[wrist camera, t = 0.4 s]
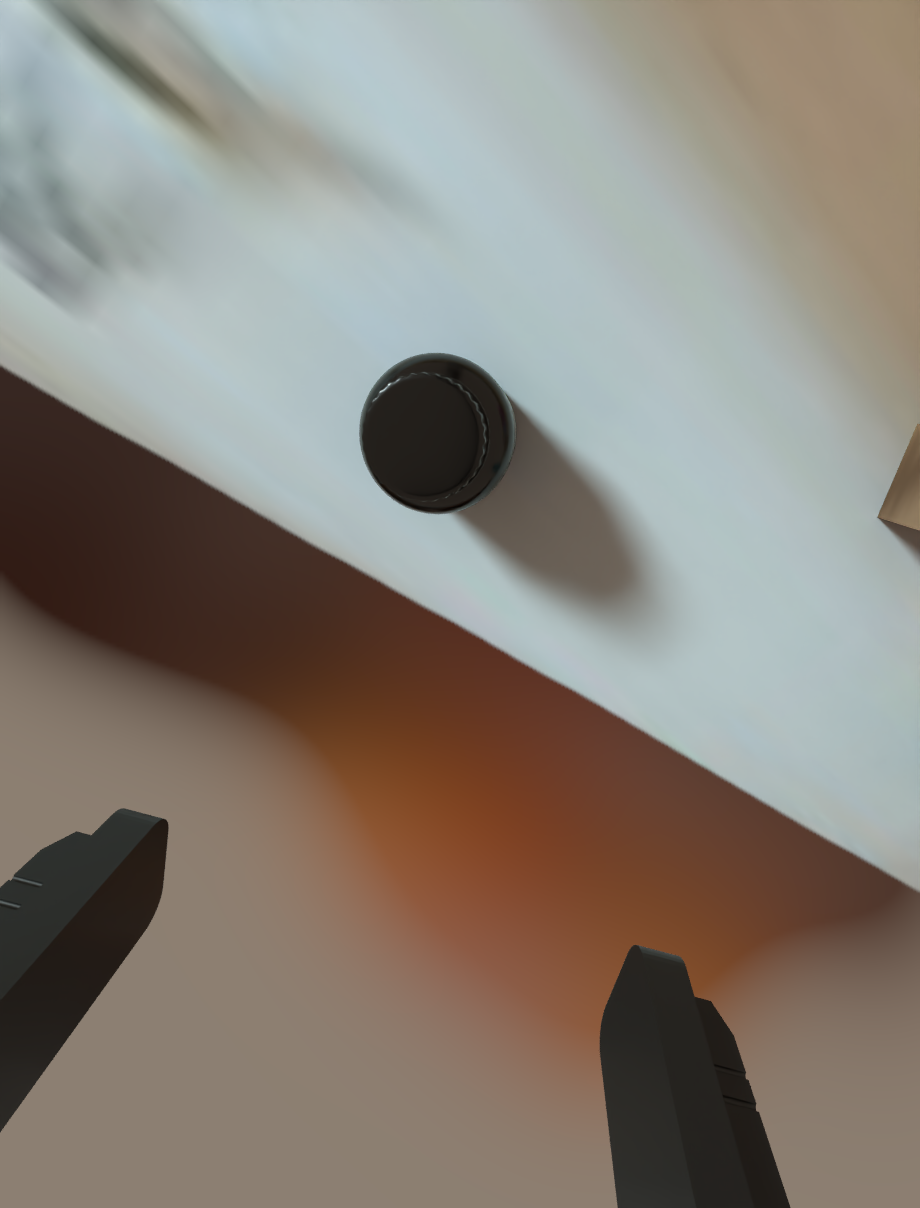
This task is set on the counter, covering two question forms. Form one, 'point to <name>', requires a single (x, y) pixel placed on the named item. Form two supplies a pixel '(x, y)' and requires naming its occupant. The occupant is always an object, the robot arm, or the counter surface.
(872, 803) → the counter surface
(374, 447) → the supplement bottle
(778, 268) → the counter surface
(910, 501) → the walnut block
